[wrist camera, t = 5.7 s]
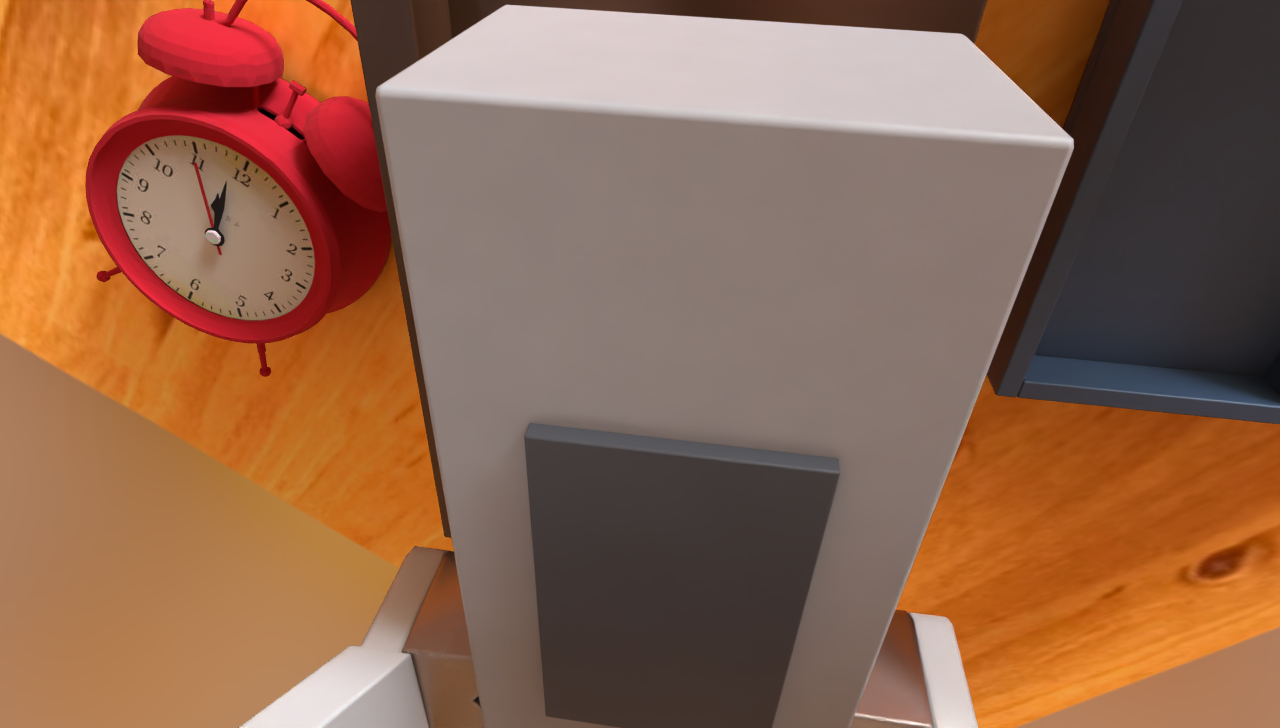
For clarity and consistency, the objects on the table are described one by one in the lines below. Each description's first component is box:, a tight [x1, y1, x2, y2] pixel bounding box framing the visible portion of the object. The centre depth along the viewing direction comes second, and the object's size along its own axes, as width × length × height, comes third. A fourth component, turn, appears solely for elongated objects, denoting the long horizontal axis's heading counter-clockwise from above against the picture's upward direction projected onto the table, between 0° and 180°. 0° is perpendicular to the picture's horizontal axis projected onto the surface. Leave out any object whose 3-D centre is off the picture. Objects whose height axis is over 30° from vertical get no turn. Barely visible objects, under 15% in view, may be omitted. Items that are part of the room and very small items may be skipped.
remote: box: [375, 5, 1074, 728], centre depth 10 cm, size 15×4×3 cm, turn 178°
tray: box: [987, 0, 1280, 424], centre depth 23 cm, size 11×20×3 cm, turn 178°
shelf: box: [351, 0, 987, 538], centre depth 22 cm, size 12×17×12 cm
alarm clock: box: [86, 0, 391, 377], centre depth 27 cm, size 10×6×15 cm
